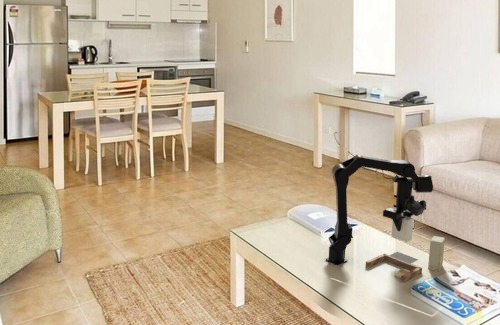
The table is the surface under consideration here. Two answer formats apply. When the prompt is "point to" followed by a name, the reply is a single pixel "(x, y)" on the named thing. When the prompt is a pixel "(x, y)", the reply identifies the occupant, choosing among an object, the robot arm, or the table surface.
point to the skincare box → (436, 253)
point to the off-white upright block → (403, 230)
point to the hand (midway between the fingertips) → (401, 229)
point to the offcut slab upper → (401, 273)
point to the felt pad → (403, 257)
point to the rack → (414, 269)
